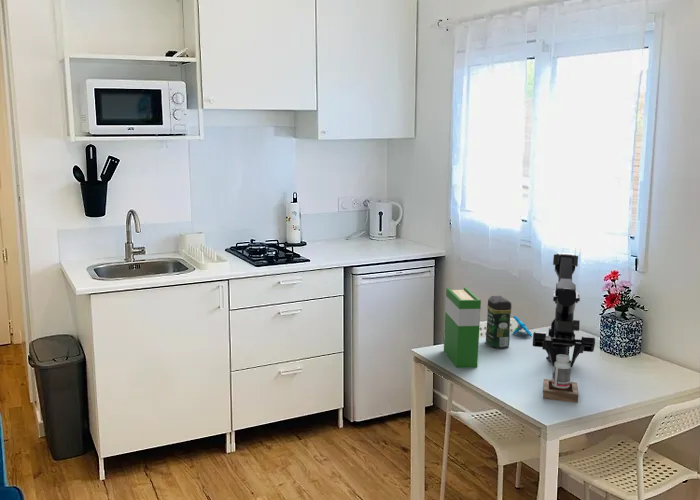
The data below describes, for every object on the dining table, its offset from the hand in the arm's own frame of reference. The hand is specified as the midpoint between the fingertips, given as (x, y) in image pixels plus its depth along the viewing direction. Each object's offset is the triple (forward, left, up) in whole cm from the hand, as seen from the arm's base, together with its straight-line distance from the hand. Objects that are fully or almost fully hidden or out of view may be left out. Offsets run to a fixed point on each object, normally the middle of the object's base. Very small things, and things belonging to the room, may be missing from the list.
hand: (562, 366), depth 224 cm
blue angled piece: (-23, -58, -10) cm, 63 cm away
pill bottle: (-1, -1, -7) cm, 7 cm away
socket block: (-1, -1, -10) cm, 10 cm away
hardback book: (+14, -39, -10) cm, 43 cm away
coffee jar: (-7, -49, -10) cm, 51 cm away
